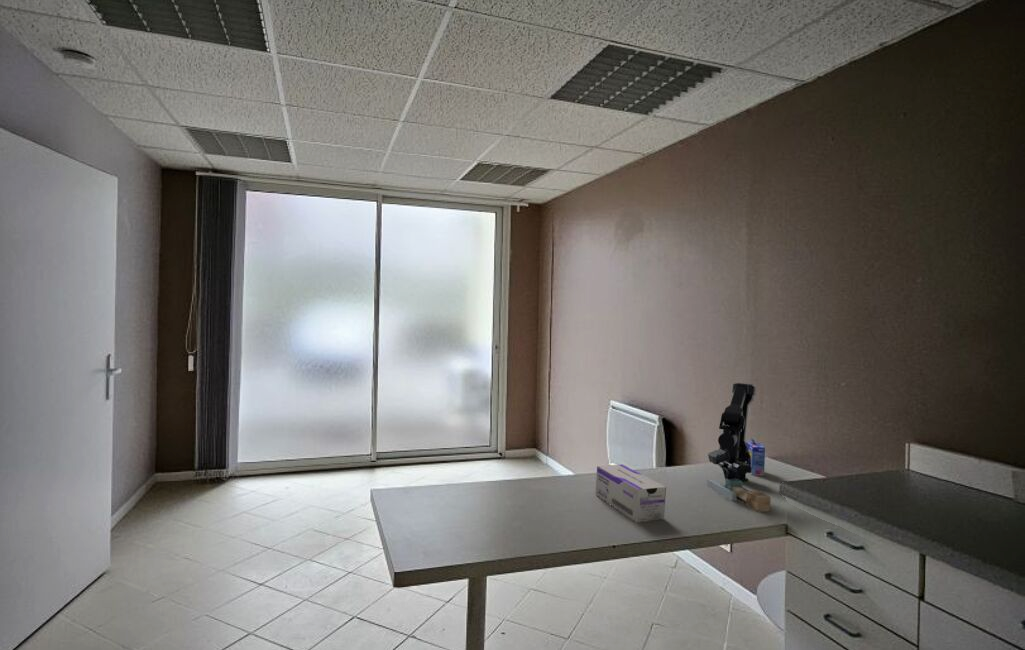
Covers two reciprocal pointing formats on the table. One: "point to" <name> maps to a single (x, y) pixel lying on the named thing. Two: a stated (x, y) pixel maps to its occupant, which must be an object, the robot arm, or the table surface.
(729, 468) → the robot arm
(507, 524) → the table surface
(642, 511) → the surgical sutures box
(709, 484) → the channel
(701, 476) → the table surface
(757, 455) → the ink cartridge box
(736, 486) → the push rod
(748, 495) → the block
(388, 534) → the table surface
